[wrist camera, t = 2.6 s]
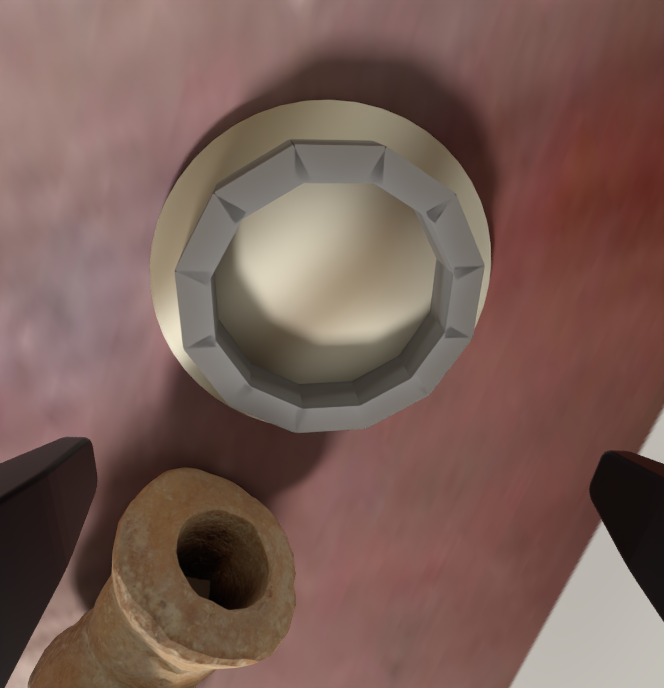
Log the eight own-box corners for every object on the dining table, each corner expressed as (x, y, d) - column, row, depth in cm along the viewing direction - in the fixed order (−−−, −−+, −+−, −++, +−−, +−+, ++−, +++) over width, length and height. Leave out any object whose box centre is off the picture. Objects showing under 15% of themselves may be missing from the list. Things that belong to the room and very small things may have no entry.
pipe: (310, 498, 27) (339, 700, 18) (178, 678, 32) (150, 905, 23) (143, 437, 24) (80, 645, 15) (27, 647, 29) (-73, 896, 20)
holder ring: (97, 346, 21) (79, 377, 19) (256, 11, 17) (257, -2, 15) (370, 459, 26) (382, 495, 24) (549, 221, 22) (585, 237, 19)
